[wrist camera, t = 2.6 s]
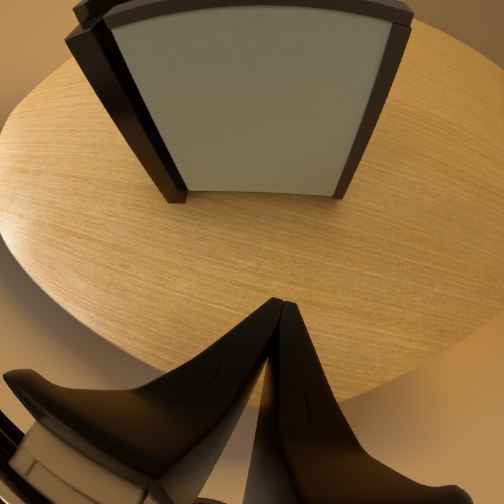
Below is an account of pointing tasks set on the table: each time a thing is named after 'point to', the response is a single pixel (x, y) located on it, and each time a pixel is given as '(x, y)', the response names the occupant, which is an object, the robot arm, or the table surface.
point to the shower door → (264, 86)
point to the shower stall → (122, 95)
